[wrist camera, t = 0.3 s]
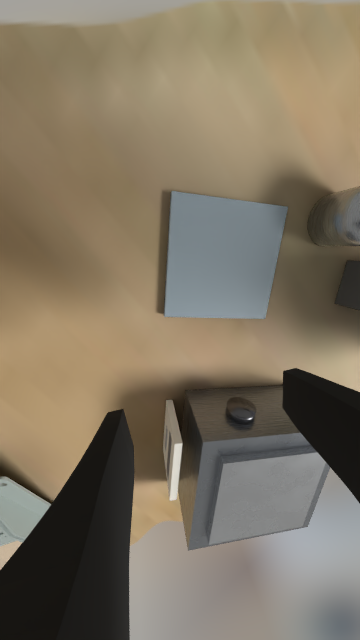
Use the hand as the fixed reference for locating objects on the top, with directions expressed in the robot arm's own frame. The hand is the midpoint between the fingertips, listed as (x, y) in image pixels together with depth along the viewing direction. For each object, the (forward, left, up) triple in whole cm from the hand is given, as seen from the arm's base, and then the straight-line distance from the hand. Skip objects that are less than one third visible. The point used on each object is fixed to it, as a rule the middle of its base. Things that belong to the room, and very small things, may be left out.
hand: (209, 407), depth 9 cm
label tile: (0, +10, -10) cm, 14 cm away
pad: (-4, -6, -10) cm, 12 cm away
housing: (-8, +12, -10) cm, 17 cm away
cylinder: (-13, -10, -10) cm, 19 cm away
